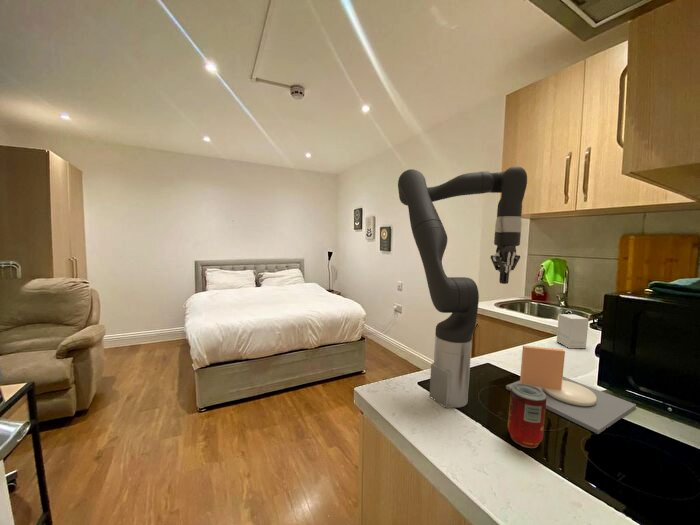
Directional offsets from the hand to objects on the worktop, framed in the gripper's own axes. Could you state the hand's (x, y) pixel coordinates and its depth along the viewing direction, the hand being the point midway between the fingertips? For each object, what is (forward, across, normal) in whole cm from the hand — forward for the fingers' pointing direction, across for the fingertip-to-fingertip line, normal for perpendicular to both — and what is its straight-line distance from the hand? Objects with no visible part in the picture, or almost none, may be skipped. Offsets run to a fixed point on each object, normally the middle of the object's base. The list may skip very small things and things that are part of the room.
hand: (503, 283), depth 96 cm
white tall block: (+29, -48, +1) cm, 56 cm away
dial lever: (+28, +2, +19) cm, 34 cm away
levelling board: (+29, 0, +21) cm, 36 cm away
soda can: (+29, +28, +25) cm, 48 cm away
